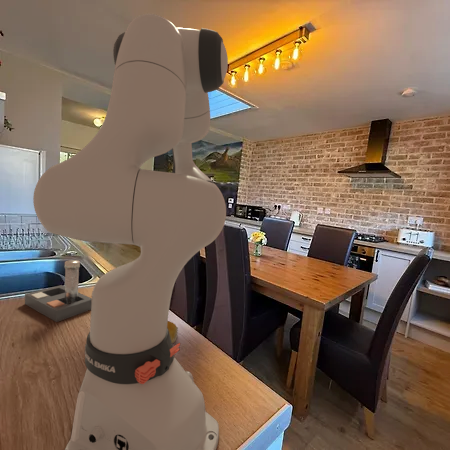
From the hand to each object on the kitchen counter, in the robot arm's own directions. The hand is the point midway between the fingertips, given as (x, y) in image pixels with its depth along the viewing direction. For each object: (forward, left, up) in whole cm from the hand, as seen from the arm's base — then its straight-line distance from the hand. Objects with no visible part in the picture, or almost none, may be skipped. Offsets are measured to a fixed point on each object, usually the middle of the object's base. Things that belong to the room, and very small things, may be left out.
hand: (127, 208), depth 73 cm
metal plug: (+10, +9, -30) cm, 33 cm away
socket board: (+14, +10, -30) cm, 34 cm away
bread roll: (-19, +4, -30) cm, 36 cm away
